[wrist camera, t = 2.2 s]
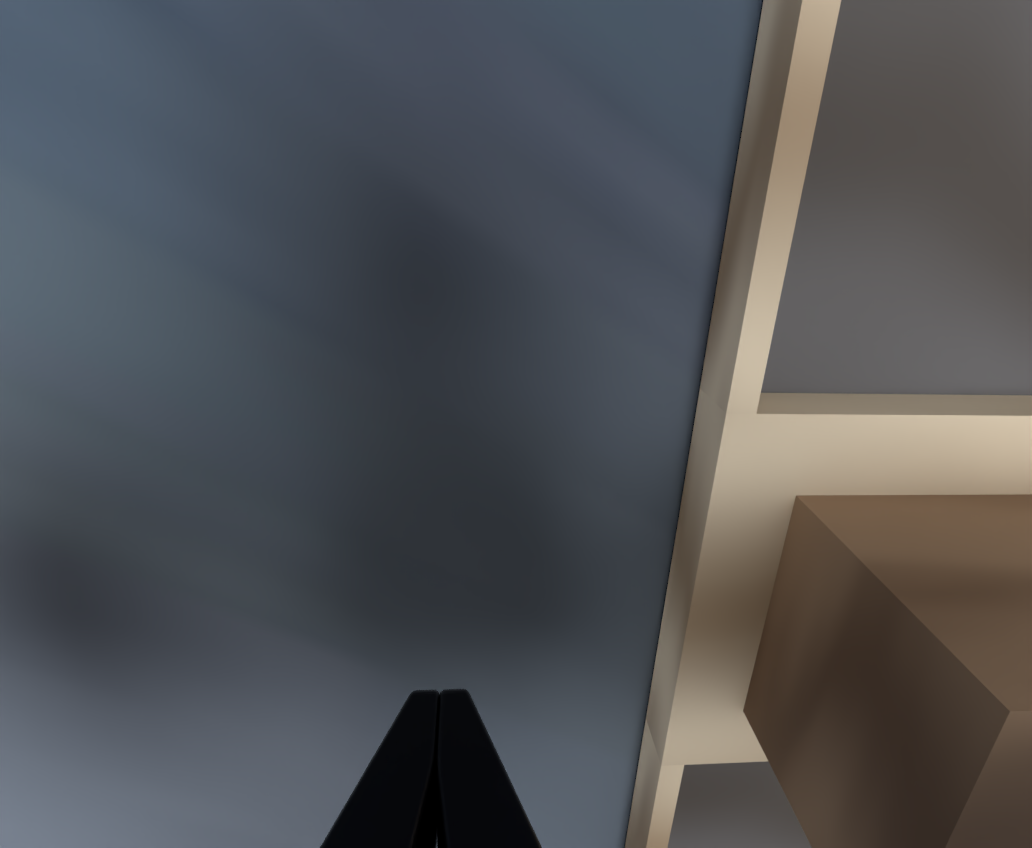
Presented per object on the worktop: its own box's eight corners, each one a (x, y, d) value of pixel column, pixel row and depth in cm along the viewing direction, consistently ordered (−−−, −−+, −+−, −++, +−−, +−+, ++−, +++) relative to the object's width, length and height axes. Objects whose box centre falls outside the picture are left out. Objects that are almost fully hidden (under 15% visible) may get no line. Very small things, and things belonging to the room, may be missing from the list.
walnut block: (973, 702, 13) (1213, 959, 9) (743, 710, 12) (880, 983, 8) (1065, 494, 11) (1430, 696, 7) (796, 495, 10) (1008, 711, 6)
